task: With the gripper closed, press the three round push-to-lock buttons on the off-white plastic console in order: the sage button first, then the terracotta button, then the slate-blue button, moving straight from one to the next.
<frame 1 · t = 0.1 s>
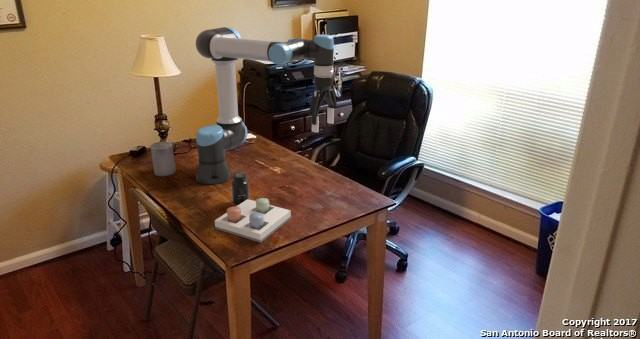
hand: (322, 127, 192), 28 cm above the table, fingers open, 13 cm apart
slate button: (256, 220, 166), point 5 cm above the table, slide at 0.0 cm
sage button: (262, 205, 177), point 5 cm above the table, slide at 0.0 cm
supplement bottle: (240, 202, 190), on the table
console: (253, 223, 174), on the table
terracotta button: (234, 214, 170), point 5 cm above the table, slide at 0.0 cm
pillar candle: (165, 172, 218), on the table
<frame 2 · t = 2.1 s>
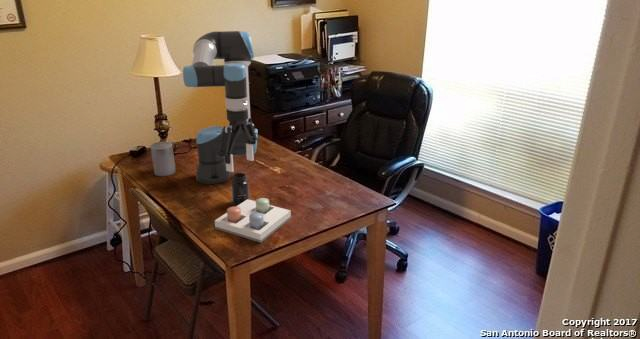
hand: (240, 165, 173), 20 cm above the table, fingers open, 12 cm apart
nothing on the table moved.
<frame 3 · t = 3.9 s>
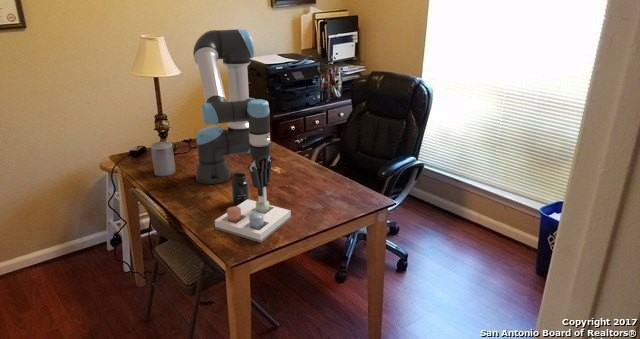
hand: (262, 202, 176), 6 cm above the table, fingers closed
sage button: (262, 207, 177), point 4 cm above the table, slide at 0.9 cm
everything else where it was.
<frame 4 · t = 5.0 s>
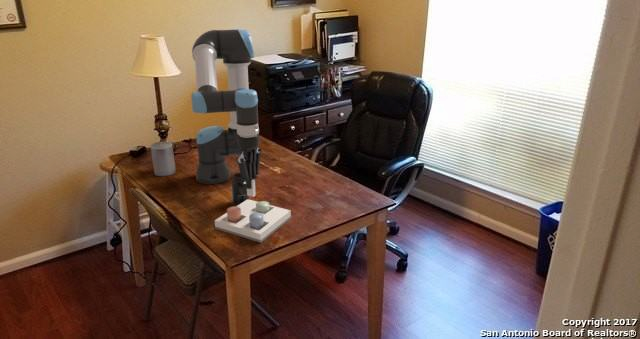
hand: (251, 195, 172), 11 cm above the table, fingers closed
sage button: (262, 208, 177), point 3 cm above the table, slide at 1.4 cm
everything else where it was.
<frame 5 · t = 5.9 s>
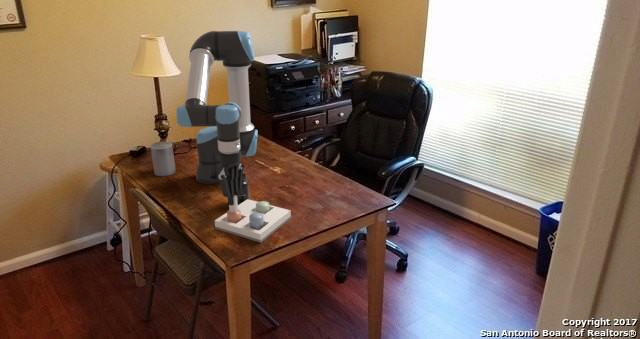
hand: (233, 211, 169), 6 cm above the table, fingers closed
terracotta button: (234, 216, 170), point 4 cm above the table, slide at 1.0 cm, touching gripper
everything else where it was.
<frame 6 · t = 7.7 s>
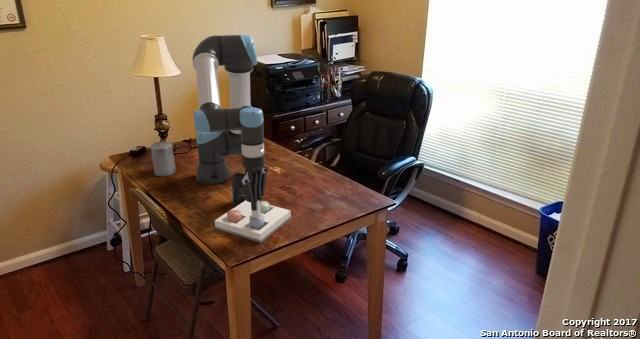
hand: (256, 217, 165), 7 cm above the table, fingers closed
slate button: (256, 222, 166), point 4 cm above the table, slide at 0.6 cm, touching gripper
terracotta button: (234, 217, 170), point 3 cm above the table, slide at 1.4 cm
everything else where it was.
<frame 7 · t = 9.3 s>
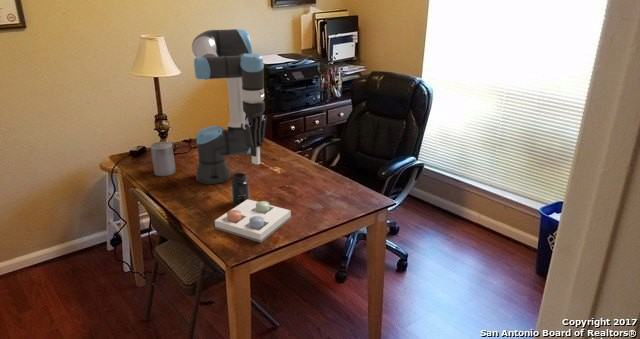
hand: (256, 163, 170), 22 cm above the table, fingers closed
slate button: (256, 224, 166), point 3 cm above the table, slide at 1.4 cm
everything else where it was.
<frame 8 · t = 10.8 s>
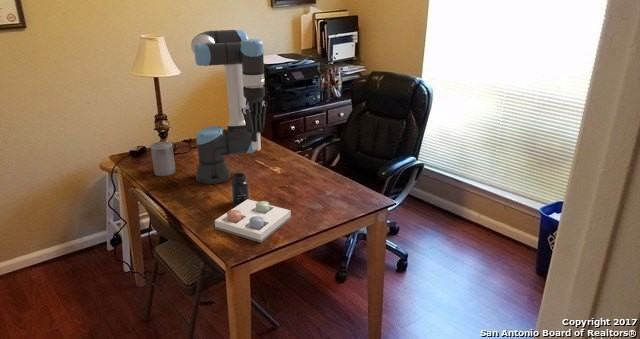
hand: (256, 149, 171), 26 cm above the table, fingers closed
nothing on the table moved.
at the end: sage button slide at 1.4 cm; terracotta button slide at 1.4 cm; slate button slide at 1.4 cm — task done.
